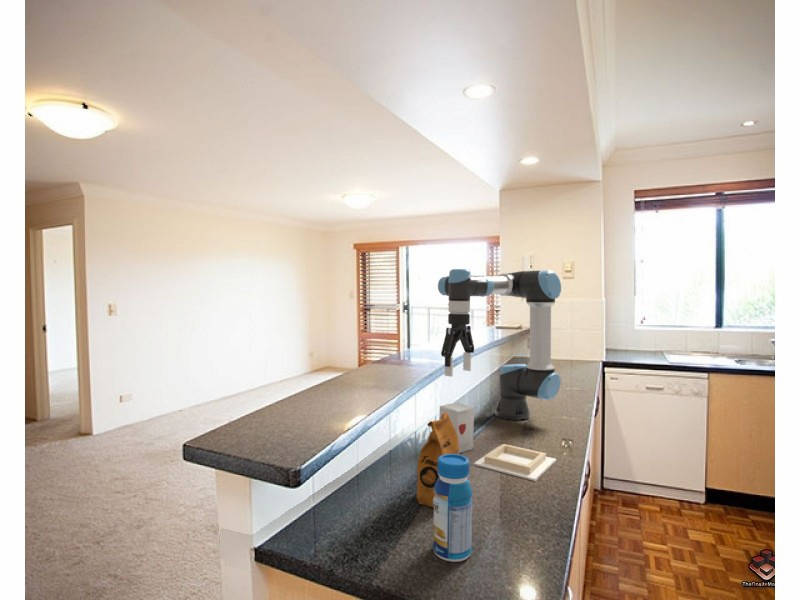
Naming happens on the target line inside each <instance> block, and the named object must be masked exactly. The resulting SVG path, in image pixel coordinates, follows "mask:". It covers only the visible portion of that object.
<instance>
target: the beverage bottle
mask: <svg viewBox="0 0 800 600" xmlns="http://www.w3.org/2000/svg"><path fill="white" fill-rule="evenodd" d="M437 471H438V475H439V476H440V477H439V478H438V479H437V481H436V483H435V486H434V493H435V496H434V498H433V507H434V508H433V507H432V508H433V543H432V550H433V552H434V555H435V556H437V557H438V558H440V559H441V560H444V561H446V562H450V563H451V562H452V563H455V562H456V563H457V562H458V563H459V562H463V561H465V560H467V559H468V558H469V557H470V556H471V554H472V547H473V546H472V526H473V523H472V521H473V508H474V504H473V499H472V496H473V488H472V485H471V483H470V481H469V479H468V477H469V475H470V460H469V458H468V457H466V456H464V455H462V454H460V455H458V454H445V455H442V456H440V457H439V458H438V463H437Z"/></svg>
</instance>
